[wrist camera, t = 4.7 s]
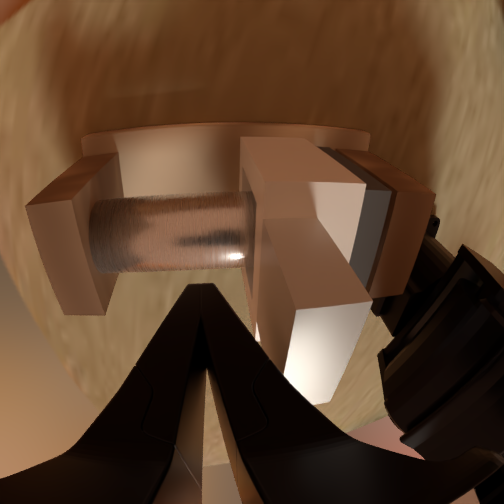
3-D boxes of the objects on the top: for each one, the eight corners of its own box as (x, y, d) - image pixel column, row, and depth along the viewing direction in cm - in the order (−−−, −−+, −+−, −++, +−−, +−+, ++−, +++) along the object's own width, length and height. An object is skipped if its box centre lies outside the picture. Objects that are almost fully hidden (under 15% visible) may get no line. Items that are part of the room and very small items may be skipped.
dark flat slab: (329, 147, 13) (391, 191, 9) (315, 247, 16) (355, 319, 12) (305, 145, 13) (360, 189, 9) (294, 248, 16) (328, 322, 12)
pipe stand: (362, 130, 15) (442, 170, 9) (344, 236, 19) (395, 310, 13) (87, 134, 13) (18, 178, 7) (107, 246, 17) (72, 330, 11)
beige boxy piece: (304, 138, 13) (442, 250, 5) (292, 250, 17) (360, 408, 8) (240, 136, 13) (304, 258, 5) (238, 252, 16) (272, 425, 8)
